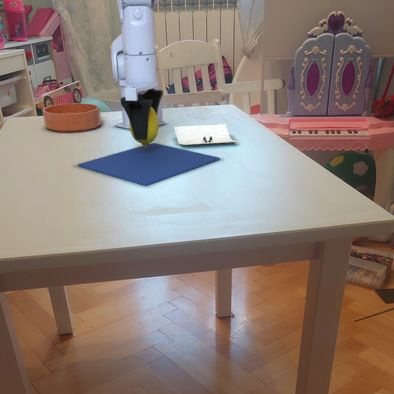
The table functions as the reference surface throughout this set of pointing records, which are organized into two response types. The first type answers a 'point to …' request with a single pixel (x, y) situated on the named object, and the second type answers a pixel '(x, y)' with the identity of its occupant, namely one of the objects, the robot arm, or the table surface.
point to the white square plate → (202, 134)
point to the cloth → (149, 163)
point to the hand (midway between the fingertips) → (145, 135)
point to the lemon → (149, 128)
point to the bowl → (72, 117)
